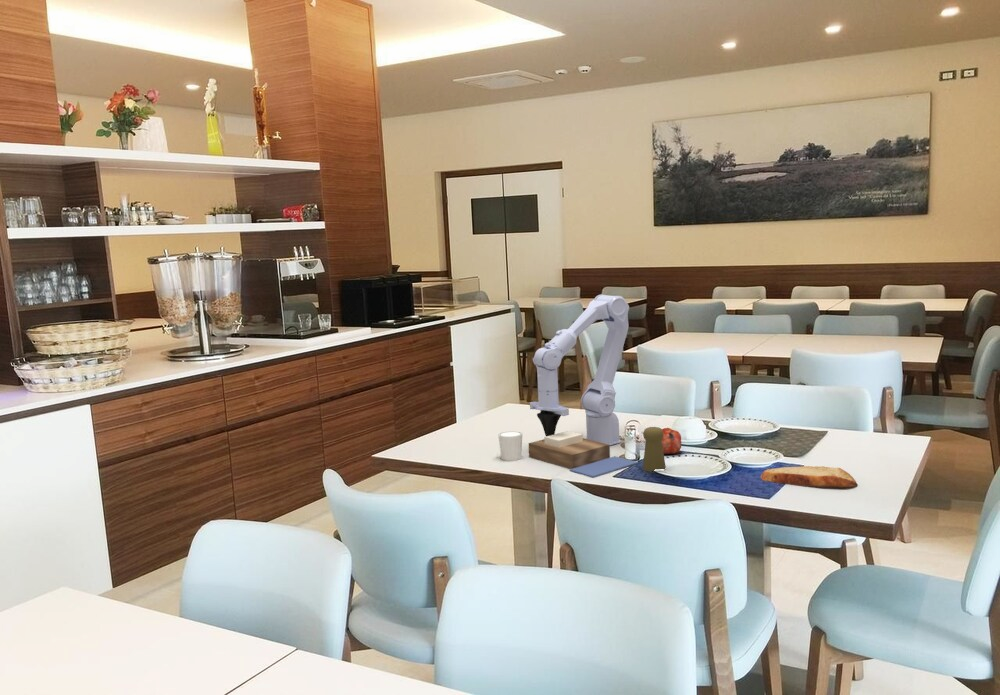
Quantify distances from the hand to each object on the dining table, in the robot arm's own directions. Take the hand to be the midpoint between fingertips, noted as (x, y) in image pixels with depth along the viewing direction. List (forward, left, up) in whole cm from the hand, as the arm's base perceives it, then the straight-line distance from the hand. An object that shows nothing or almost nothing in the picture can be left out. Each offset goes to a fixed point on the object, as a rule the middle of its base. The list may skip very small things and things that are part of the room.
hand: (550, 436), depth 232 cm
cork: (-8, +32, -5) cm, 33 cm away
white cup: (+11, -4, -5) cm, 13 cm away
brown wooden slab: (0, +8, -5) cm, 9 cm away
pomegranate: (-22, +25, -5) cm, 33 cm away
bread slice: (-25, +66, -5) cm, 70 cm away
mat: (0, +21, -5) cm, 22 cm away
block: (0, +6, -1) cm, 6 cm away
